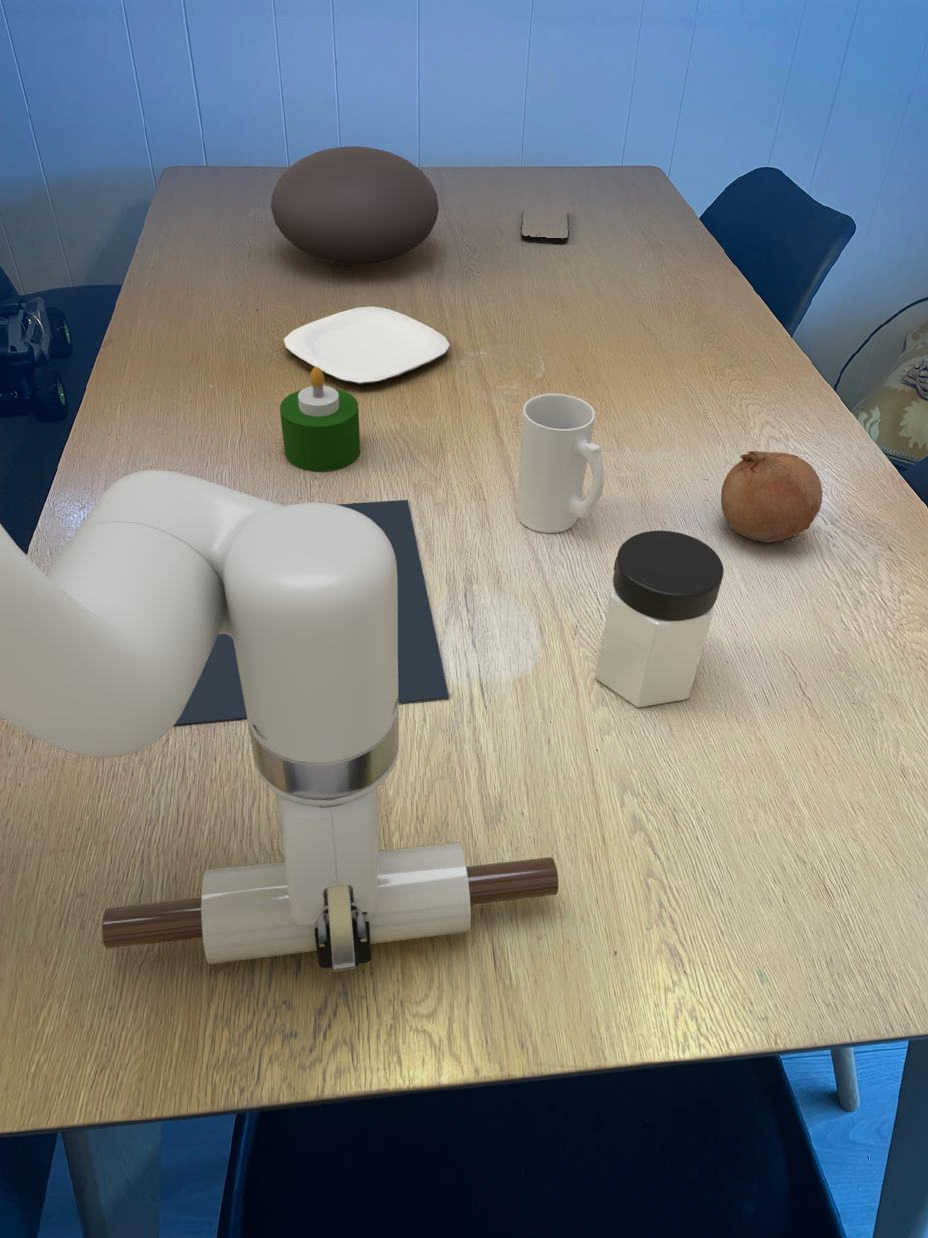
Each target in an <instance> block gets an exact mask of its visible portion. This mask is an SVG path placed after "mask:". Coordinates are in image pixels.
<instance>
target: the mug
mask: <svg viewBox="0 0 928 1238" xmlns="http://www.w3.org/2000/svg"><path fill="white" fill-rule="evenodd" d="M522 408H523V409H522V421H521V422H522V423H521V432H520V433H521V434H520V450H519V462H518V463H519V465H518V478H517V498H516V499H517V500H516V516H517V519H518V520H519V521H520V523H521V524H522V525H524V526H525V527H526V528H528V529H529V530H533V531H535V532H539V533H544V534H556V533H557V534H558V533H561V532H562V533H563V532H565V531H567V530H569V529H571V528H572V527H573V526H574V525H575V524H576V522H577V520H578V518H580V519H585V518H587V517H589V516H590V515H591V513H592V512H593V510H594V508H595V507H596V505H597V504H598V502H599V500H600V498H601V497H602V493H603V490H604V484H605V483H604V482H605V473H604V472H605V471H604V464H603V458H602V446H601V445H599V444H597V443H595V442H592V439H593V432H594V424H595V418H596V411H595V409H594V408H593V406H591V405H590V404H589V403H588V402H587V401H585V400H583V399H582V398H579V397H576V396H574V395H569V394H563V393H545V394H544V393H543V394H540V395H536V396H533V397H532V398H529V399H528V400H527V401H526V402H524V405H523V407H522ZM588 465H589V467H590V471H591V475H592V483H591V488H590V491H589V493H588V495H587V497H586V499H585V500H584V499H582V495H583V491H584V484H585V477H586V471H587V466H588Z"/></svg>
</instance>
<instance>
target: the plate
mask: <svg viewBox="0 0 928 1238" xmlns="http://www.w3.org/2000/svg"><path fill="white" fill-rule="evenodd" d="M283 342H284V343H283V344H284V347H285V349H286V350H287V351H288V352H289V353H291V354H292V355H294V356H295V357H296V358H298V359H299V360H301V361H302V362H304V363H306V364H307V365H309V366H311V367H312V368H314V367H319V368H320V369H321V371H322V372H323V374H324V375H327V376H329V377H331V378H334V379H336V380H338V381H341V382H346V383H351V384H356V385H366V384H376V383H381V382H384V381H388V380H391V379H395V378H397V377H399V376H403V375H405V374H407V373H409V372H412V371H414V370H416V369H419V368H421V367H423V366H426V365H429V364H430V363H432V362H434V361H435V360H438V359H439V358H441V357H443V356H445V355H446V353H447V352H448V350H449V349H450V347H451V343H450V342H449V341H448V339H447V337H446V336H444V335H443V334H441V333H440V332H438V331H436V330H435V329H434V328H433V327H431V326H428V325H426V324H424V323H422V322H420V321H418V320H416V319H414V318H412V317H410V316H408V315H406V314H403V313H401V312H399V311H395V310H393V309H390V308H386V307H380V306H379V307H378V306H362V307H354V308H351V309H348V310H344V311H340V312H337V313H334V314H331V315H327V316H325V317H321V318H320V319H317V320H314V321H312V322H309V323H306V324H303V325H302V326H300V327H297V328H295V329H292V330H291V331H290V332H289V333H288V334H287V335H286V336H285V337H284V338H283Z"/></svg>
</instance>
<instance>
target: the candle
mask: <svg viewBox="0 0 928 1238" xmlns="http://www.w3.org/2000/svg"><path fill="white" fill-rule="evenodd" d="M309 379H310V380H309V381H310V384H311V386H307V387H304V388H303V389H300V390H297V391H294V392H292V393H290V394H288V395H287V396H285V398H283V400H282V401H281V403H280V405H279V413H280V422H281V431H282V442H283V449H284V455H285V459H286V460H287V461H288V463H290V464H291V465H293V466H294V467H296V468H299V469H301V470H304V471H309V472H317V473H319V472H332V471H336V470H337V471H338V470H340V469H341V470H342V469H343V468H346V467H348V466H350V465H351V464H353V463H355V462H356V460H358V458H359V456H360V454H361V437H360V416H359V415H360V414H359V413H360V412H359V402H358V400H357V399H356V397H355V396H354V395H352V394H351V393H350V392H347V391H345V390H342V389H338V388H333V387H330V386H328V385H324V382H325V374H324V373H323V372H322V371H321V369H320V368H319V367H312V369H311V371H310V376H309Z"/></svg>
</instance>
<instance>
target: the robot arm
mask: <svg viewBox="0 0 928 1238" xmlns="http://www.w3.org/2000/svg"><path fill="white" fill-rule="evenodd" d="M220 634H227V635H229V636H230V637H231V638H232V639H233V641H234V647H235V653H236V658H237V664H238V670H239V675H240V681H241V686H242V691H243V697H244V702H245V708H246V713H247V719H246V720H247V727H248V733H249V739H250V744H251V750H252V751H251V752H252V755H253V761H254V766H255V769H256V771H257V774H258V776H259V778H260V779H261V781H262V782H263V783H264V784H265V785H266V787H268V789H269V790H271V791H272V792H273V793H275V794H276V800H277V811H278V822H279V830H280V831H279V832H280V838H281V839H280V840H281V847H282V854H283V861H284V864H285V872H286V880H287V888H288V898H289V907H290V918H291V920H292V921H293V923H294V924H296V925H297V926H298V927H305V926H313V925H314V924H315V923H316V922H317V926H318V927H317V928H315V940H316V948H317V951H316V954H317V955H316V956H317V962H318V967H319V969H331V968H332V971H333V972H335V973H336V972H342V971H343V972H344V971H350V970H356V968H357V967H358V966H359V965H362V964H368V963H370V962H371V961H372V946H371V945H372V944H371V943H370V926H369V921H368V922H367V921H365V915H366V914H367V918H369V917H370V916H371V915H372V914H373V913H374V911H375V910H376V907H377V890H378V851H379V787H380V786H381V785H382V784H383V783H384V782H385V780H387V778H388V777H389V776H390V774H391V773H392V771H393V770H394V768H395V766H396V764H397V760H398V756H399V749H400V717H399V714H400V709H399V707H400V706H399V705H400V704H398V703H399V701H398V590H397V566H396V558H395V554H394V551H393V548H392V545H391V543H390V541H389V539H388V538H387V536H386V535H385V533H384V532H383V530H382V529H381V528H380V527H379V526H378V525H377V524H375V523H374V522H373V521H372V520H371V519H370V518H368V517H367V516H365V515H363V514H362V513H359V512H357V511H355V510H353V509H350V508H346V507H343V506H339V505H336V504H335V503H328V502H315V501H313V502H310V501H309V502H298V503H292V504H290V503H289V504H283V503H279V502H275V501H272V500H268V499H265V498H261V497H258V496H255V495H252V494H249V493H246V492H242V491H240V490H238V489H235V488H231V487H229V486H225V485H222V484H219V483H216V482H213V481H211V480H207V479H203V478H201V477H198V476H194V475H191V474H186V473H183V472H178V471H173V470H166V469H144V470H138V471H135V472H132V473H129V474H126V475H125V476H122V477H121V478H119V479H117V481H115V482H114V483H112V484H111V485H110V486H109V487H108V488H107V489H105V491H104V492H103V493H102V495H101V496H100V497H99V498H98V500H97V501H96V502H95V504H94V505H93V506H92V508H91V510H90V511H89V512H88V514H87V515H86V517H85V518H84V520H83V521H82V522H81V524H80V526H79V527H78V528H77V529H76V531H75V533H74V534H73V535H72V537H71V538H70V540H68V541H67V543H66V544H65V546H64V547H63V549H62V550H61V552H60V553H59V555H58V556H57V557H56V559H55V560H54V562H53V563H52V565H51V566H50V568H49V569H48V570H47V572H46V573H45V572H44V571H43V570H42V569H41V568H40V567H39V566H37V565H36V564H35V562H34V561H32V559H30V558H29V556H28V555H27V553H25V552H24V551H23V550H22V549H21V547H19V546H18V545H17V544H16V542H15V541H14V539H13V538H12V537H11V536H10V534H9V533H8V532H7V531H6V529H5V528H4V526H3V525H2V524H1V523H0V718H2V719H3V720H4V721H7V722H8V723H10V724H11V725H13V726H15V727H17V728H18V729H20V730H22V731H23V732H25V733H26V734H28V735H30V736H31V737H33V738H35V739H37V740H39V741H41V742H43V743H45V744H48V745H50V746H52V747H55V748H57V749H60V750H62V751H66V752H69V753H72V754H74V755H79V756H84V757H90V758H98V759H109V758H111V759H112V758H123V757H126V756H129V755H130V756H131V755H133V754H138V753H140V752H142V751H144V750H146V749H148V748H149V747H151V746H152V745H154V744H156V743H158V742H159V741H160V740H162V738H163V737H164V736H165V735H166V734H167V733H168V732H169V731H170V730H171V729H172V727H175V726H174V724H175V723H176V722H177V720H178V719H179V717H180V716H181V714H182V712H183V710H184V708H185V706H186V704H187V702H188V700H189V698H190V696H191V694H192V692H193V690H194V688H195V686H196V684H197V682H198V679H199V677H200V675H201V673H202V671H203V669H204V666H205V664H206V662H207V660H208V657H209V655H210V653H211V651H212V648H213V646H214V644H215V642H216V639H217V637H218V635H220ZM352 910H355V911H356V921H355V918H353V919H352V916H351V911H352ZM328 913H329V922H328V925H327V919H326V914H328Z"/></svg>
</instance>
